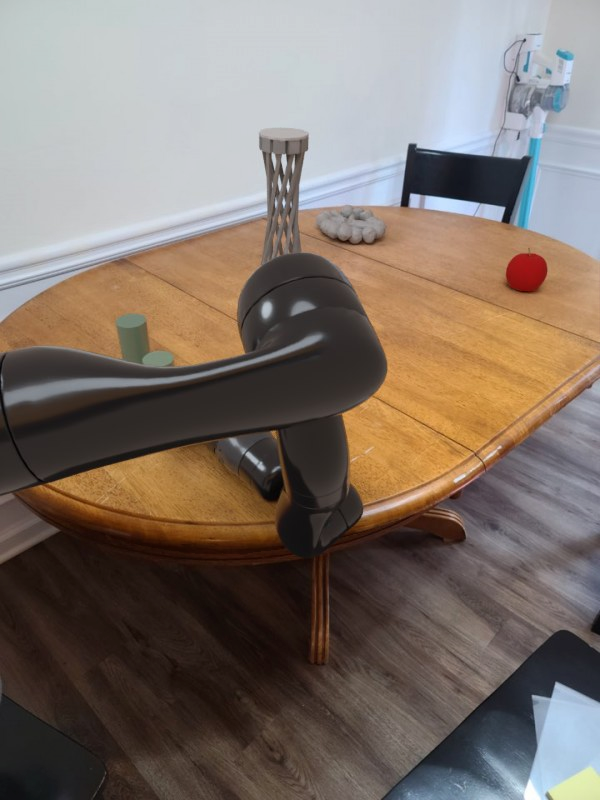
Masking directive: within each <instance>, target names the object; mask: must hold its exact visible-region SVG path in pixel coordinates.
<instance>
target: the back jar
mask: <svg viewBox="0 0 600 800" xmlns="http://www.w3.org/2000/svg"><path fill="white" fill-rule="evenodd" d="M115 327H116V333H117V337H118V344H119V350H120V355H121V359H122V360H126V361H130V362H135V363H140V364H143V362H142V359H143V357H144V356H145V355H146V354H148V353H150V352H152V347H151V342H150V336H149V328H148V322H147V317H146V316H145V315H143V314H140V313H127V314H123V315H120V316H118V317H117V318H116V320H115Z"/></svg>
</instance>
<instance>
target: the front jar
mask: <svg viewBox="0 0 600 800" xmlns="http://www.w3.org/2000/svg"><path fill="white" fill-rule="evenodd" d="M142 362H143V364H145V365H153V366H176V363H175V362H176V361H175V356H174V354H173V353H172V352H170V351H167V350H154V351H151V352H150V353H148V354H146V355H145V356H144V357H143V359H142Z"/></svg>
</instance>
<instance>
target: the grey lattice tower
mask: <svg viewBox="0 0 600 800" xmlns="http://www.w3.org/2000/svg"><path fill="white" fill-rule="evenodd" d="M309 134H310V133H309V132H308V131H307V130H304V129H300V128H295V127H294V128H293V127H269V128H263V129H260V130H259V131H258V149H259V150H260V151H261V153H262V159H263V164H264V170H265V176H266V210H267V222H266V229H265V235H264V241H263V250H262V256H261V263H260V266H261V265H263V264H264V263H265V262H267V261H269V260H271V259H273V258H275V257H277V256H278V254H279V256H280V255H283V254H287V253H294V252H302V244H301V234H300V225H299V205H300V183H301V177H302V172H303V166H304V160H305V155H306V154H305V153H306V152H308V151H309V139H310V138H309ZM273 155H274V157H275V165H274V162H273ZM283 155H284V156H285V158H286V159H285V160H286V166H285V170H284V169H283V163H282V158H283ZM293 163H294V168H293ZM279 179H280V185H281V187H280V186H279ZM288 185H289V188H288V187H287V186H288ZM283 202H284V203H283ZM279 217H280V223H279ZM287 219H288V220H287ZM283 234H284V236H285V243H284V247H283V243H282V238H283ZM291 235H292V236H291ZM275 236H276V239H275V242H274V237H275ZM291 237H292V238H291ZM283 248H284V249H283Z"/></svg>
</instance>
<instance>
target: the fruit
mask: <svg viewBox="0 0 600 800" xmlns="http://www.w3.org/2000/svg"><path fill="white" fill-rule="evenodd" d="M527 250H528V252H526V253H517V254H516V255H514V256H513V257H512V258H511V259H510V260H509V262H508V264H507V266H506V270H505V279H506V282H507V284H508V285H509V287H510V288H512V289H514V290H517V291H519V292H529V293H531V292H534V291H536V290H537V289H538V288H539V287H541V286H542V284H543V283H544V282H545V281H546V278H547V276H548V271H549V270H548V264H547V261H546V259H545V258H544V257H543V256H541V255H539V254H537V253H532V252H531V247H528V248H527Z"/></svg>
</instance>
